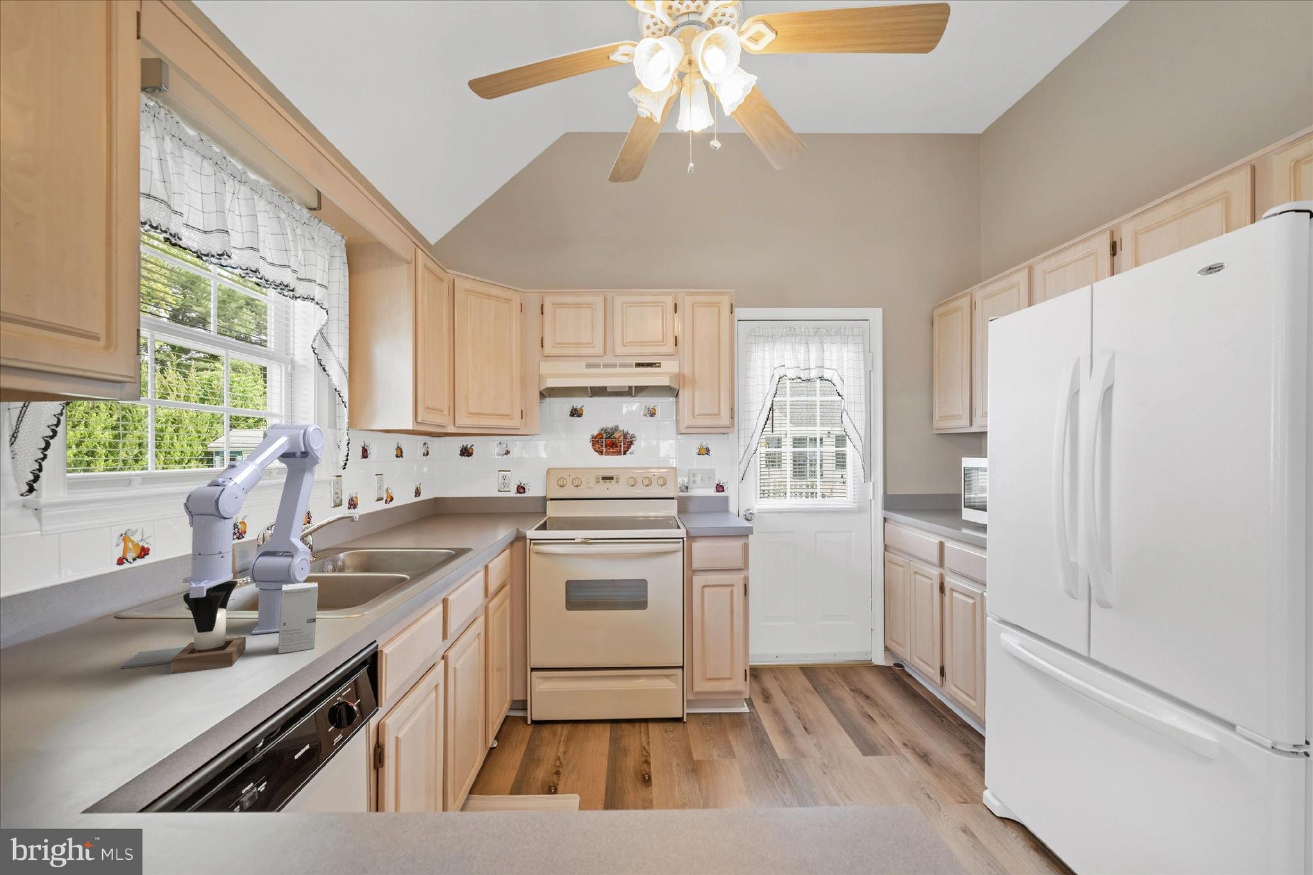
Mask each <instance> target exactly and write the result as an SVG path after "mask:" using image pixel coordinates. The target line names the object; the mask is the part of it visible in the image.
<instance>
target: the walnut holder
mask: <svg viewBox="0 0 1313 875" xmlns="http://www.w3.org/2000/svg"><path fill="white" fill-rule="evenodd" d="M184 647H185V648H184V649H183V650H182V651H180V652H179V653H178V654H177V655H176V656H175V657H174V658H173V659H172V663H171V675H172V674H173V675H174V674H179V673H180V674H181V673H188V672H189V673H190V672H196V671H204V670H205V671H206V670H212V669H213V670H214V669H221V668H222V667H223V668H229V667H230V668H231V667H233V666H234V665H235V664H236V663H237V661H238V660H239V658H240V657H241V656H242V655H243V653H244V652H245V651H246V650H247V649H246V648H247V636H238V637H230V638H225V644H224V645H222V646H219V647H216V648H212V649H205V650H196V649H194V641H191V642H189V643H188V644H187V645H186V646H184Z"/></svg>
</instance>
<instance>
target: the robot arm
mask: <svg viewBox="0 0 1313 875" xmlns="http://www.w3.org/2000/svg"><path fill="white" fill-rule="evenodd" d="M262 437H263V438H262V441H261V442H260V443H259V444H258V445H257V446H256V447H255V448H254V449H253V451H252V452H251V453H250V454H248V456H247V457H246V458H245V459H244V460H243V459H238V460H234V461H233V460H232V461H230V463H228V466H226V468H224V469H223V470H222V471H221V472H220V473H219V474H218V475H216V476H215V477H214V478H213V479H212V480H211V481H209V483H207V484H206V485H203V486H202V485H201V486H198V487H196V488H194V489H193V490H191V491H190V492H189V493H188V495H187V497H186V500H185V502H183V509H184V512H185V514H186V515H187V516H188V525H189V526H190V528H192V538H191V570H190V571H191V573H190V574H191V575H190V576H186V577H184V578H182V584H189V585H190V586H189V592H186V593H184V594H183V597H182V598H183V601H184V603H185V604H186V605H187V607H188V608H189V610H190V612H191V614H192V618H193V621H194V627H195V626H196V629H197V632H198V633H203V632H212V631H213V629H214V627H215V623H216V618H217V613H218V609H219V608H223V609H226V610H227V607H228V604H229V600H230V598H231V596H232V593H233V592H234V590H235V588H236V586H238V581H237V580H233V578H234V573H233V545H234V544H233V543H234V542H233V540H234V537H233V536H234V532H233V531H234V517H235V516H237V515H238V514H239V513H240V511H241V510H242V507H243V504H244V501H245V500H246V497H247V494H248V493H249V492H250V491H251V490H252V489H254V488H255V487H256V485H258V484H259V482H261V480H262V476H263V475H262V471H263V470H265V469H266V468H267V467H268V466H269V465H271V464H272V463H273V462H274V461H276V460H277V461H278V462H279V463H281V464H284V465H285V466H286V468H287V472H286V473H287V474H286V476H285V482H284V486H283V489H282V494H281V497H280V502H279V504H278V510H277V515H276V518H275V521H274V522H275V523H274V526H273V530H272V536H271V538H269V539H268V540H267V541H265V542H264V543H262V544H261V545H260V546H258V547H257V549H256V554H255V556H254V557H253V560H252V561H251V562H250V564H249V567H248V577H249V579H250V581H251V582H252V583H254V585H255V589H256V588H258V608H257V609H258V611H257V624H256V626H255V627H254V629H253V630H252V631H251V635H257V634H258V635H259V634H267V633H279V623H280V608H281V591H282V585H288V584H298V583H304V582H305V580H306V579H307V578H308V576H309V574H310V571H311V561H310V560H311V559H310V557H311V552H312V551H311V550H310V548H309V547H308V546H306V545H305V544H304V543H303V542H302V541H301V538H302V537H301V536H302V532H303V529H304V524H305V520H306V515H307V510H308V506H309V502H310V497H311V492H312V488H313V484H314V478H315V475H316V470H317V465H318V464H320V463H321V461H322V456H323V452H324V448H325V444H326V438H325V435H324V431H323V430H322V428H321V427H320V425H317V424H314V423H313V424H284V423H283V424H280V423H272V424H271V425H269V426H268V427H267V429H265V430H264V431H263V436H262Z"/></svg>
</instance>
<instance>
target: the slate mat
mask: <svg viewBox="0 0 1313 875" xmlns="http://www.w3.org/2000/svg"><path fill="white" fill-rule="evenodd" d="M185 647H186V646H184V647H175V648H165V649H156V650H155V649H154V650H146V651H145V650H144V651H139V652H137V653H136V654H135V655H134V656H132V657H131V658H129V659H128V660H127V661H126V662H124V663H123V664H122V665H120V669H129V668H137V667H145V666H146V667H147V666H155V665H163V664H172V659H173V658H174V657H175V656H176V655H177V654H178V653H179V652H180V651H182V650H183V649H184V648H185Z"/></svg>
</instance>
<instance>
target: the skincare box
mask: <svg viewBox="0 0 1313 875" xmlns="http://www.w3.org/2000/svg"><path fill="white" fill-rule="evenodd" d="M318 590H319V585H318V581H315V582H303V583H298V584H288V585H282V591H281V608H280V623H279V632H278V647H277V654H279V655H280V654H284V653H291V652H292V653H293V652H299V651H305V650H306V651H307V650H312V649H314V648H316V646H315V645H316V626H317V611H318V610H317V609H318V608H317V606H318V595H319V594H318V593H319V592H318Z"/></svg>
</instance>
